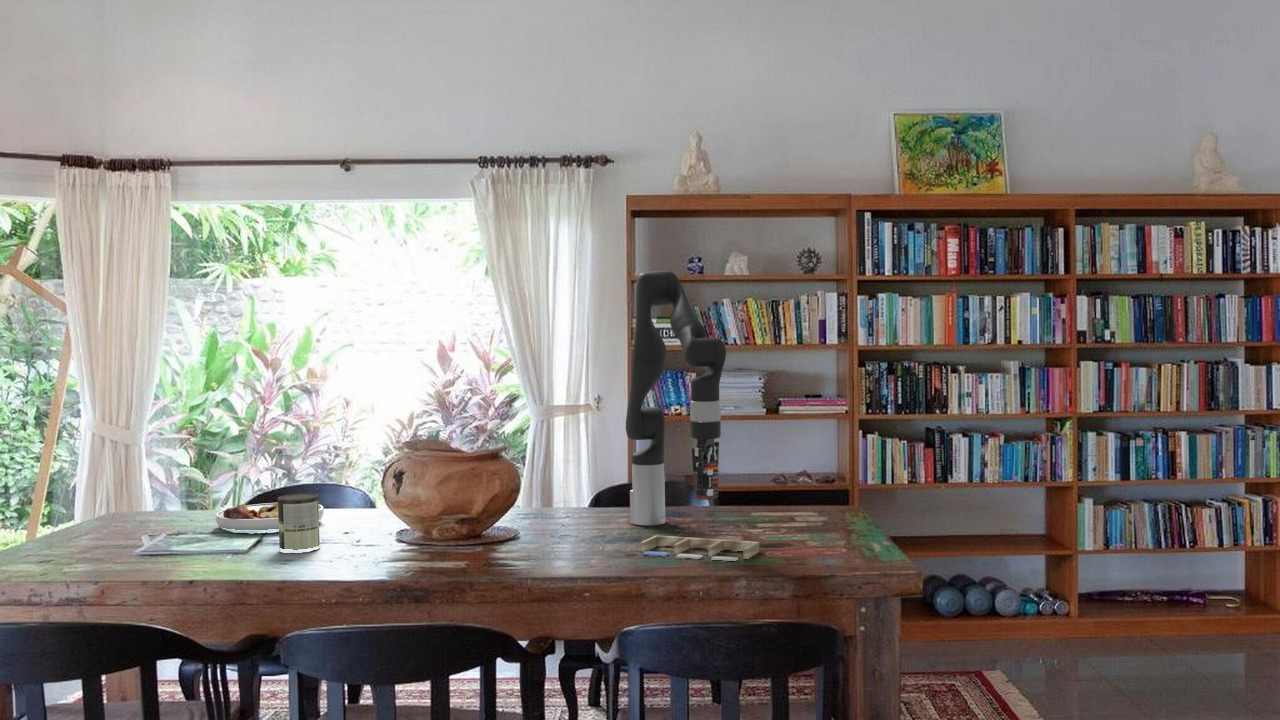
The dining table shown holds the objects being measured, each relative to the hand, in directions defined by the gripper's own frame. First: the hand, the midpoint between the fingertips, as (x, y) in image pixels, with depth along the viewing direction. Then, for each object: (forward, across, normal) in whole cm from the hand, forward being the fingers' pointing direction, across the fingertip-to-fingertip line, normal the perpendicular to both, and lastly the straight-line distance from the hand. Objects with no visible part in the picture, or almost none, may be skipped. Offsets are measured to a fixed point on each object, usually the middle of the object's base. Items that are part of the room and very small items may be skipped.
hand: (706, 485), depth 269 cm
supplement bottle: (+3, 0, 0) cm, 3 cm away
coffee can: (+18, +29, -102) cm, 108 cm away
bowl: (+19, +3, -135) cm, 136 cm away
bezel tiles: (+16, +8, -2) cm, 18 cm away
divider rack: (+17, +1, -2) cm, 17 cm away
